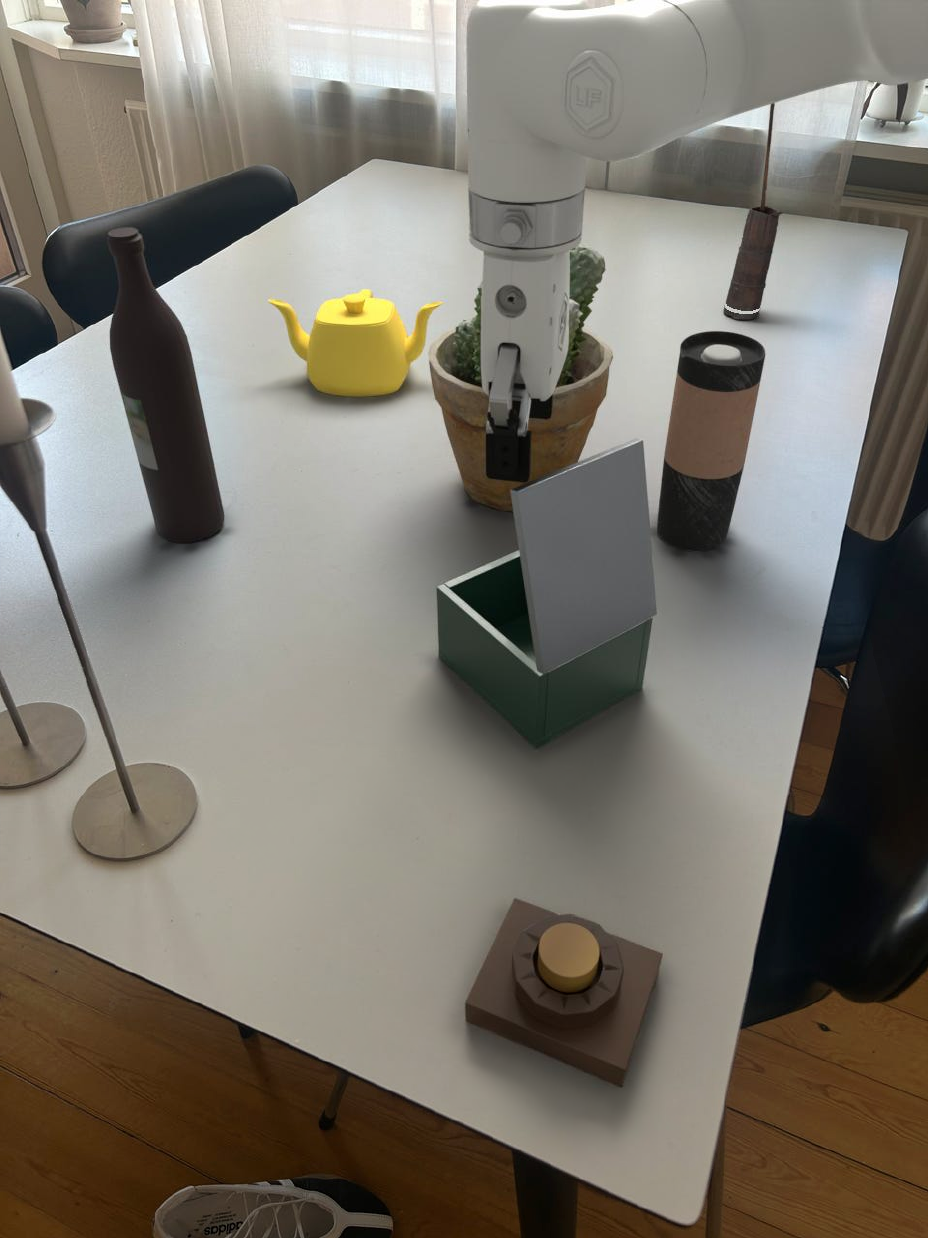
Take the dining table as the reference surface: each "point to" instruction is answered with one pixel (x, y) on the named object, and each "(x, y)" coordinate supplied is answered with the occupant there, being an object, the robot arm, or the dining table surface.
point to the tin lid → (586, 553)
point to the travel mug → (708, 437)
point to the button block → (565, 995)
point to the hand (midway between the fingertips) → (520, 446)
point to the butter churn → (754, 251)
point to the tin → (529, 655)
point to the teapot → (357, 344)
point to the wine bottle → (162, 400)
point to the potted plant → (469, 404)
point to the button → (568, 957)
